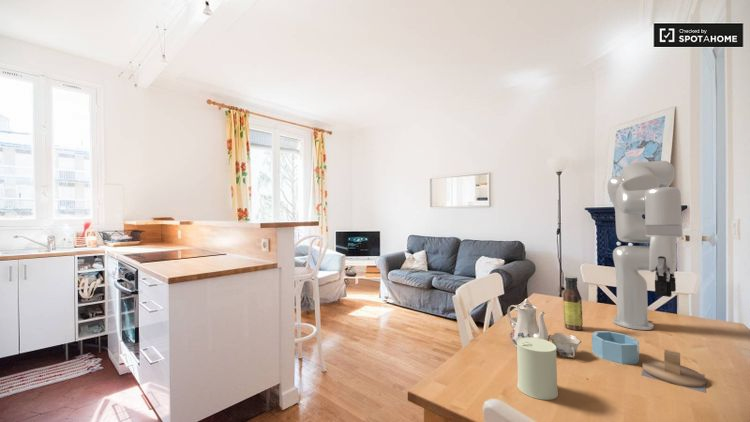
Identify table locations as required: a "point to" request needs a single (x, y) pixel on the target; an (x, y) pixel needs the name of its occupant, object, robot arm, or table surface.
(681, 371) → the lid
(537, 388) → the can
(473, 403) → the table surface
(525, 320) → the chinaware
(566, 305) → the sauce bottle
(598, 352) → the bowl
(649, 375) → the mat
